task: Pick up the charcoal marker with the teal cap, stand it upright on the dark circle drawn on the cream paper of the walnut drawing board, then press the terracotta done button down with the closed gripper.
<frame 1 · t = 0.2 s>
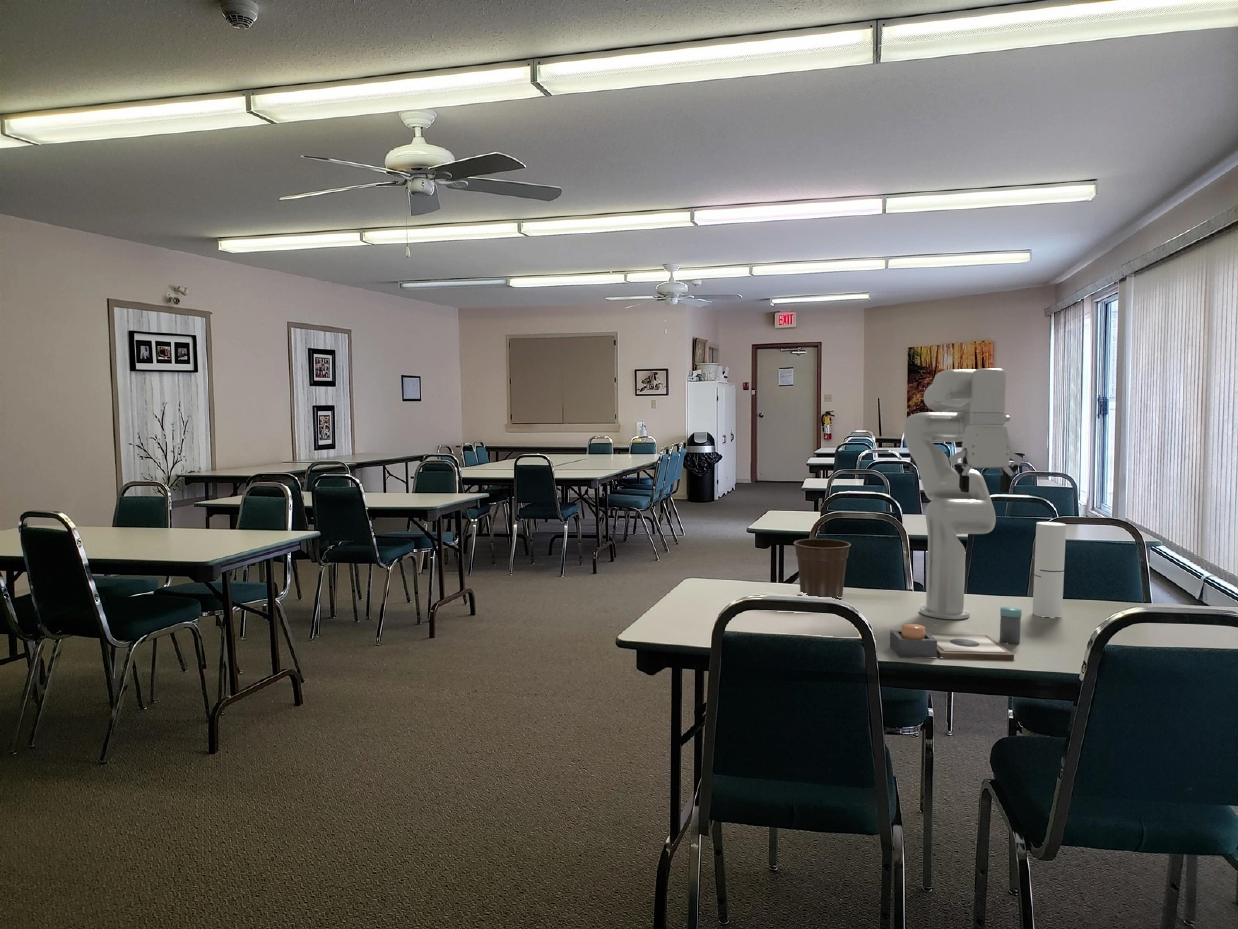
hand: (984, 492, 201), 36 cm above the table, tool pointing down, fingers open, 9 cm apart
cylindrical container: (1047, 615, 228), on the table
done button: (913, 634, 191), point 4 cm above the table, slide at 0.0 cm
drawing board: (964, 648, 195), on the table
button housing: (912, 652, 191), on the table
plant pot: (820, 597, 247), on the table
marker: (1009, 641, 201), on the table
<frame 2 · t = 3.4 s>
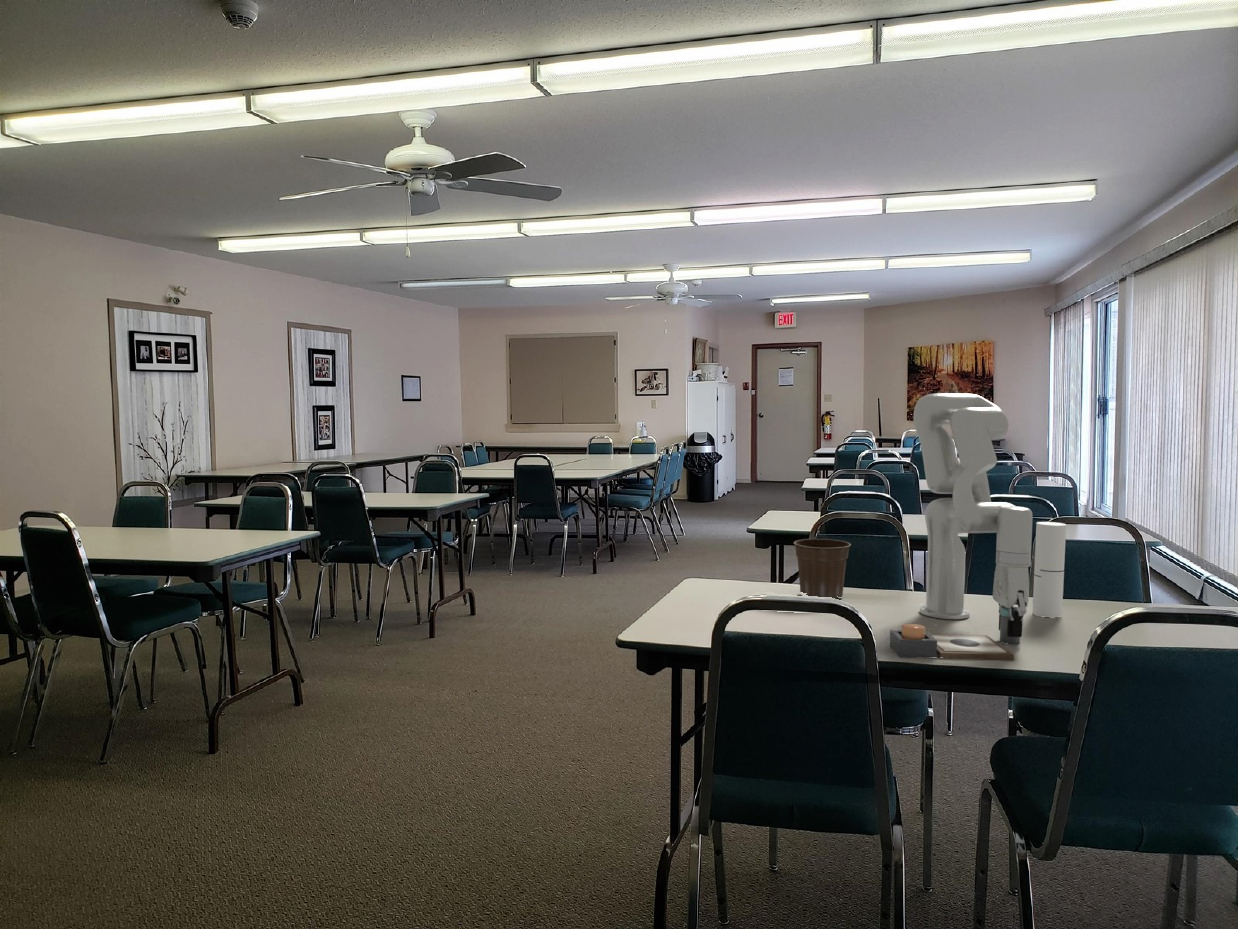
hand: (1010, 633, 201), 2 cm above the table, tool pointing down, fingers closed on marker, 4 cm apart
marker: (1009, 641, 201), on the table, touching gripper
everything else where it was.
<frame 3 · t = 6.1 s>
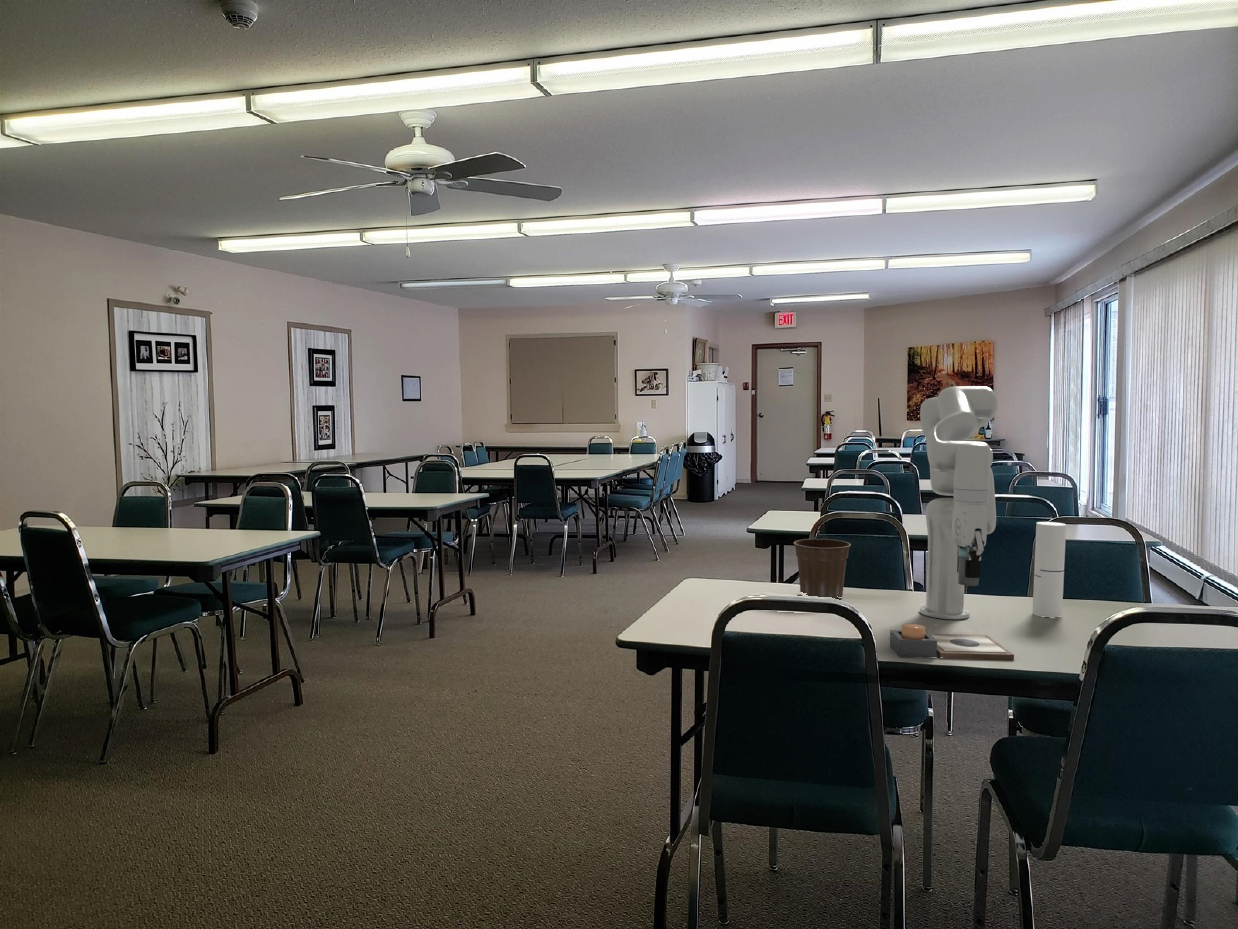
hand: (968, 574, 193), 17 cm above the table, tool pointing down, fingers closed on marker, 4 cm apart
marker: (968, 584, 194), point 15 cm above the table, touching gripper
everything else where it was.
when the fingers open (4 cm above the table, at t = 8.9 s): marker stays where it is, resting on drawing board.
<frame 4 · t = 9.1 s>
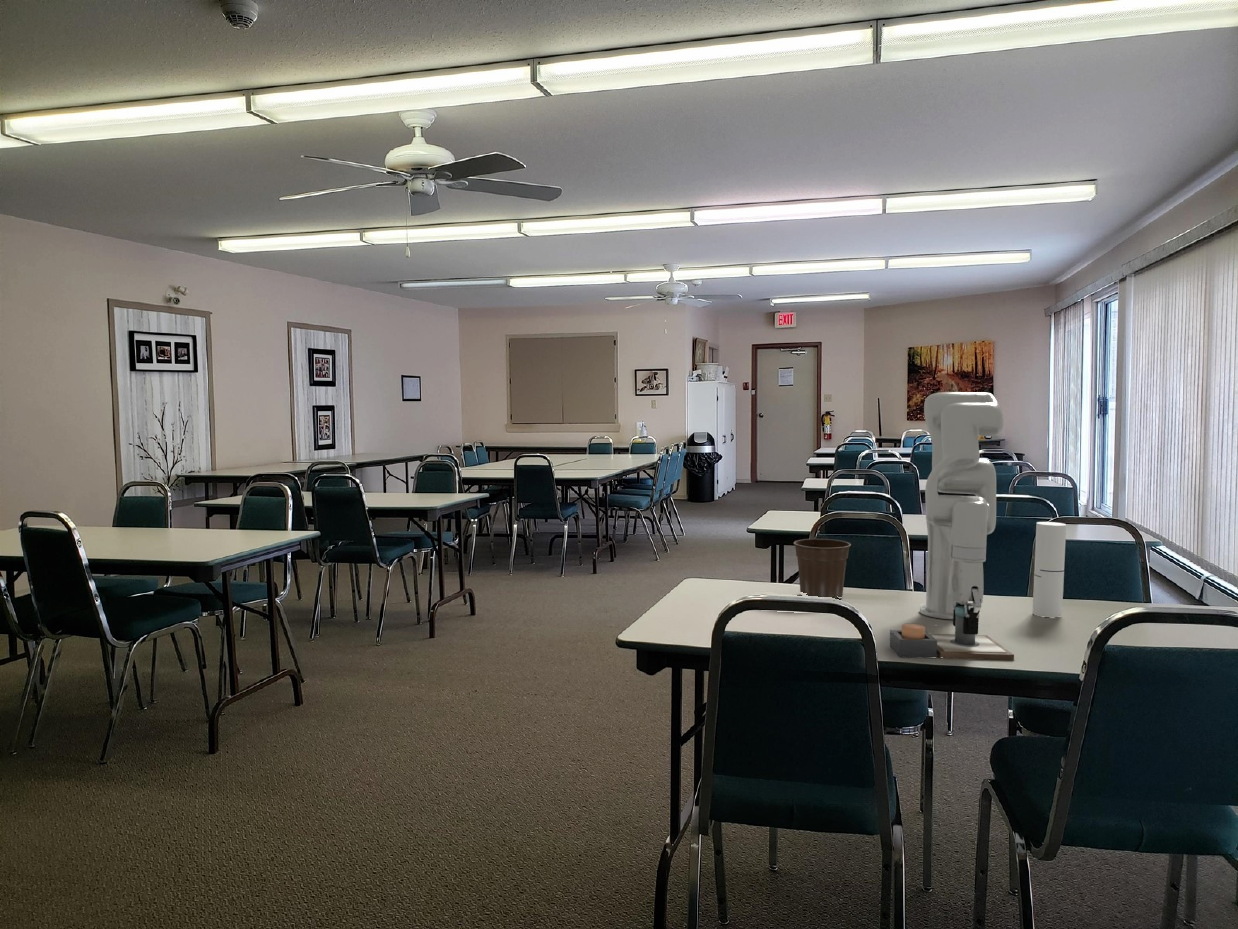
hand: (965, 629, 194), 5 cm above the table, tool pointing down, fingers open, 6 cm apart
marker: (964, 642, 195), point 1 cm above the table, touching drawing board
everything else where it was.
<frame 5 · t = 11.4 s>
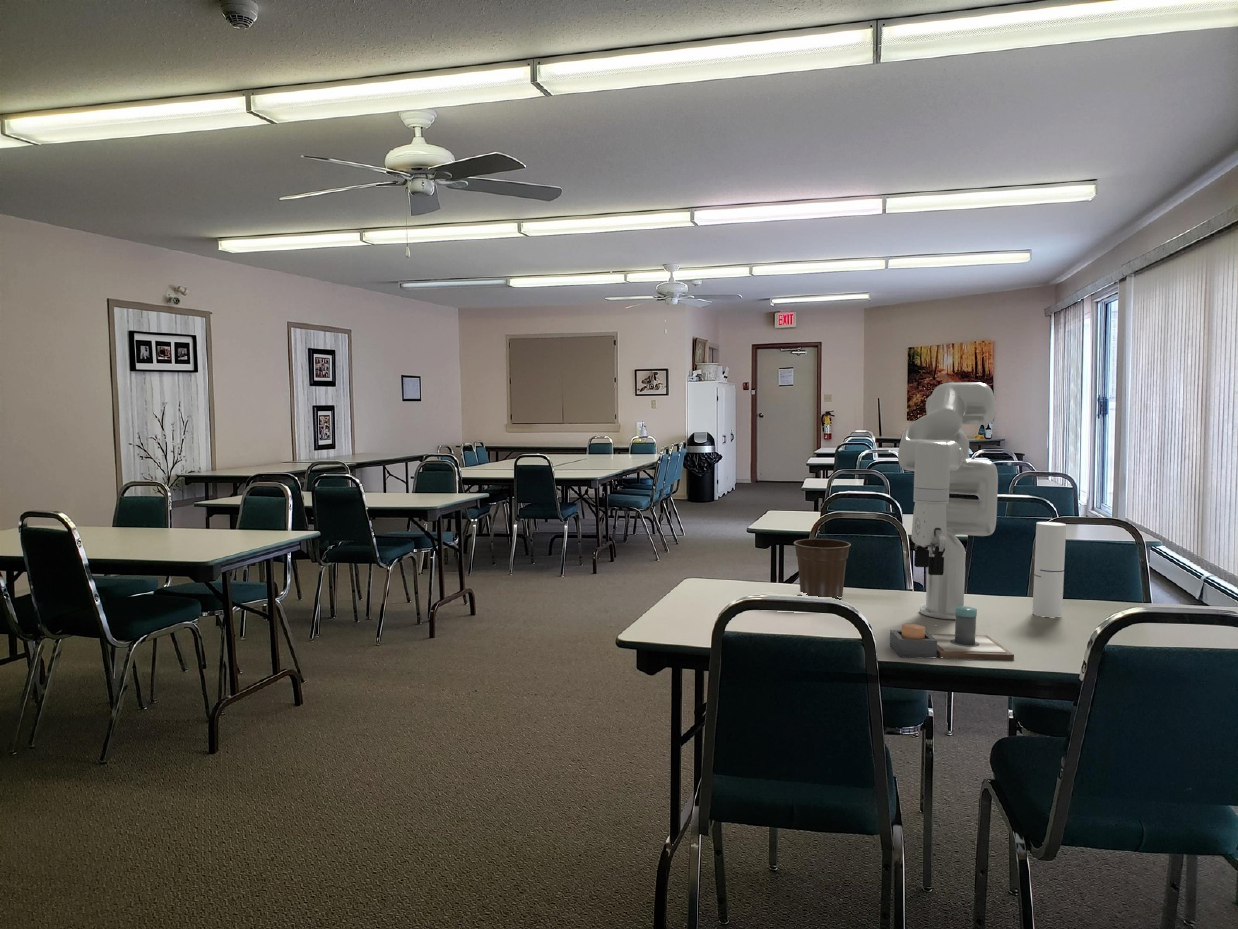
hand: (928, 570, 191), 19 cm above the table, tool pointing down, fingers open, 9 cm apart
nothing on the table moved.
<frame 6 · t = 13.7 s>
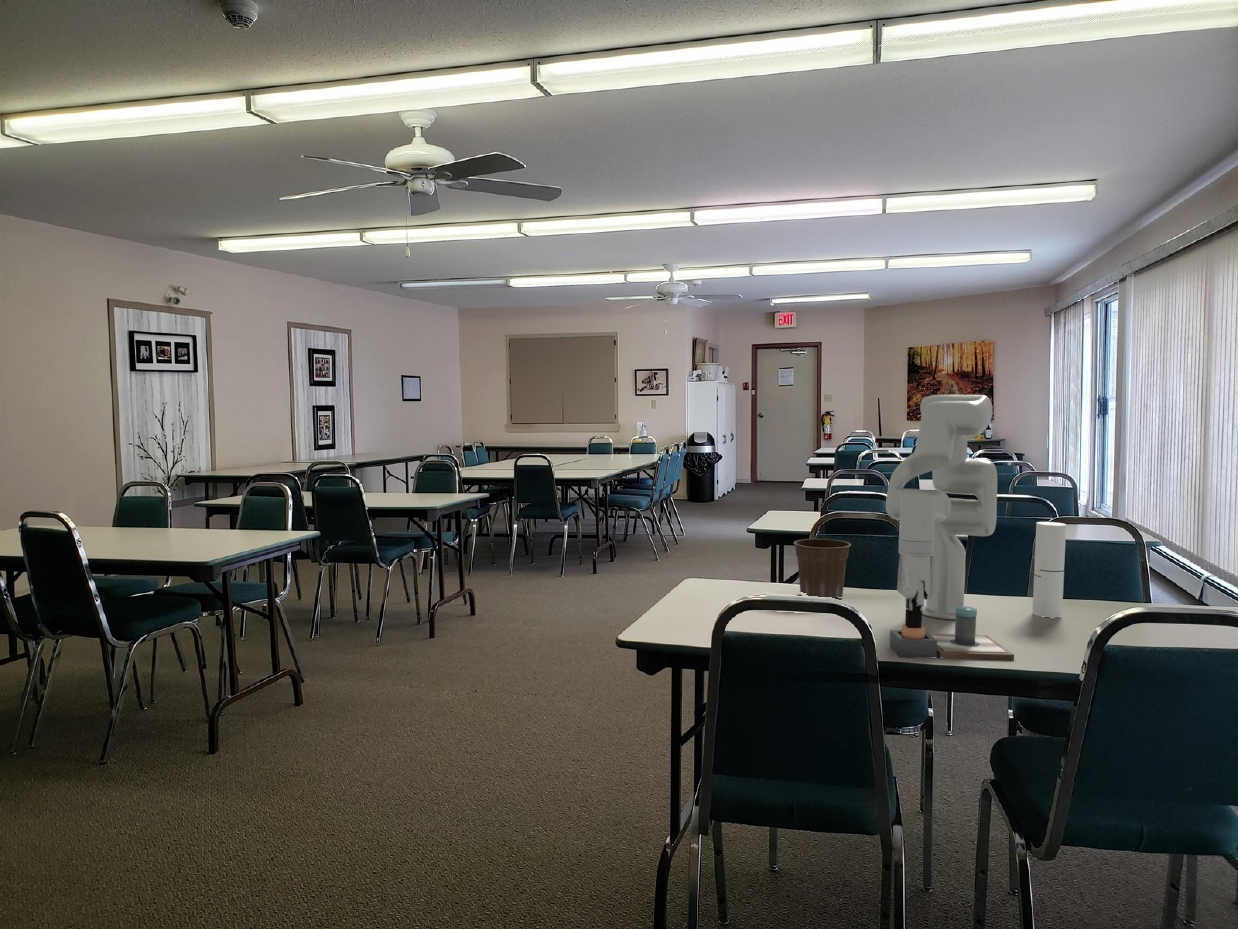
hand: (913, 627, 191), 6 cm above the table, tool pointing down, fingers closed
done button: (913, 634, 191), point 4 cm above the table, slide at 0.1 cm, touching gripper
everything else where it was.
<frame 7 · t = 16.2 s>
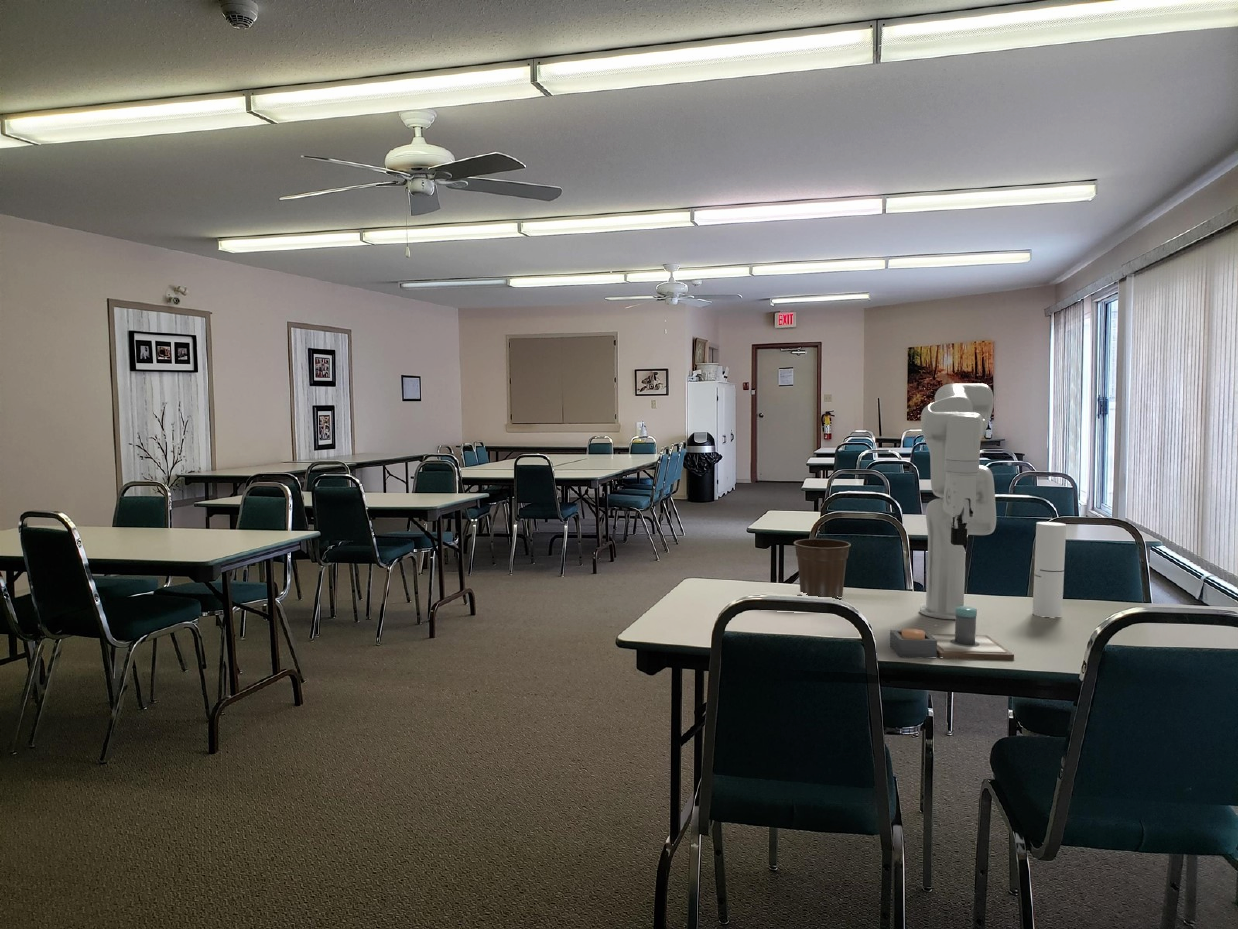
hand: (958, 544, 198), 24 cm above the table, tool pointing down, fingers closed
done button: (913, 639, 191), point 3 cm above the table, slide at 1.1 cm
everything else where it was.
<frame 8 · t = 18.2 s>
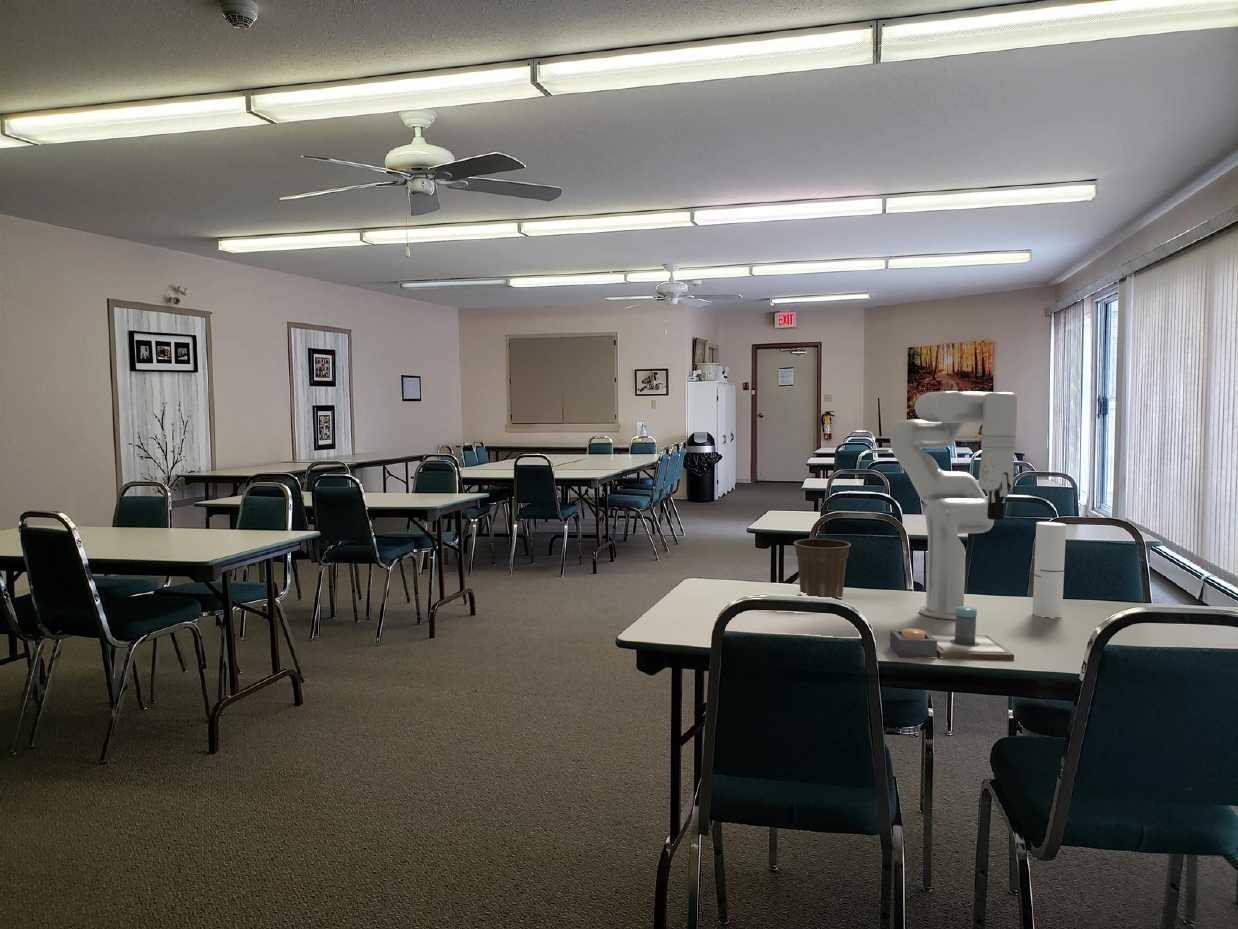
hand: (995, 519, 203), 29 cm above the table, tool pointing down, fingers closed
nothing on the table moved.
at the end: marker 0.1 cm off-centre on the drawing board, point 1.5 cm above the drawing board's base; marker tilted 0°; done button slide at 1.1 cm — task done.
